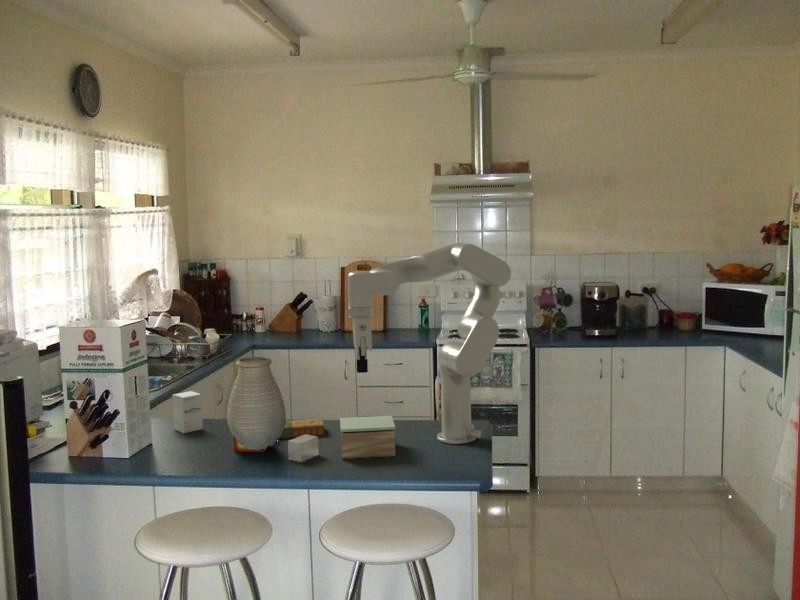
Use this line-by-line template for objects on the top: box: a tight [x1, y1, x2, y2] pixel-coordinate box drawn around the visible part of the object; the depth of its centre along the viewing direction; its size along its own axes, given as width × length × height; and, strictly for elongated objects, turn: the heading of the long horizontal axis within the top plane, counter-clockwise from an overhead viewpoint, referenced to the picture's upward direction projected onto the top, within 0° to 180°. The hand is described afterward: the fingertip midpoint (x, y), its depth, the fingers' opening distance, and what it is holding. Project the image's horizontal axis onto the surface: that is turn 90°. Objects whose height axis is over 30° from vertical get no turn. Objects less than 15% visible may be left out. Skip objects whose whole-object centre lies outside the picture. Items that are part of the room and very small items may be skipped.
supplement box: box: [171, 390, 204, 434], centre depth 270 cm, size 7×7×13 cm
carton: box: [280, 417, 325, 439], centre depth 263 cm, size 8×16×4 cm, turn 99°
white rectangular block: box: [287, 434, 320, 463], centre depth 237 cm, size 5×8×6 cm, turn 145°
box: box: [340, 429, 396, 460], centre depth 242 cm, size 14×16×8 cm
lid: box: [339, 415, 396, 433], centre depth 242 cm, size 14×16×1 cm
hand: (362, 371), depth 238 cm, fingers closed
